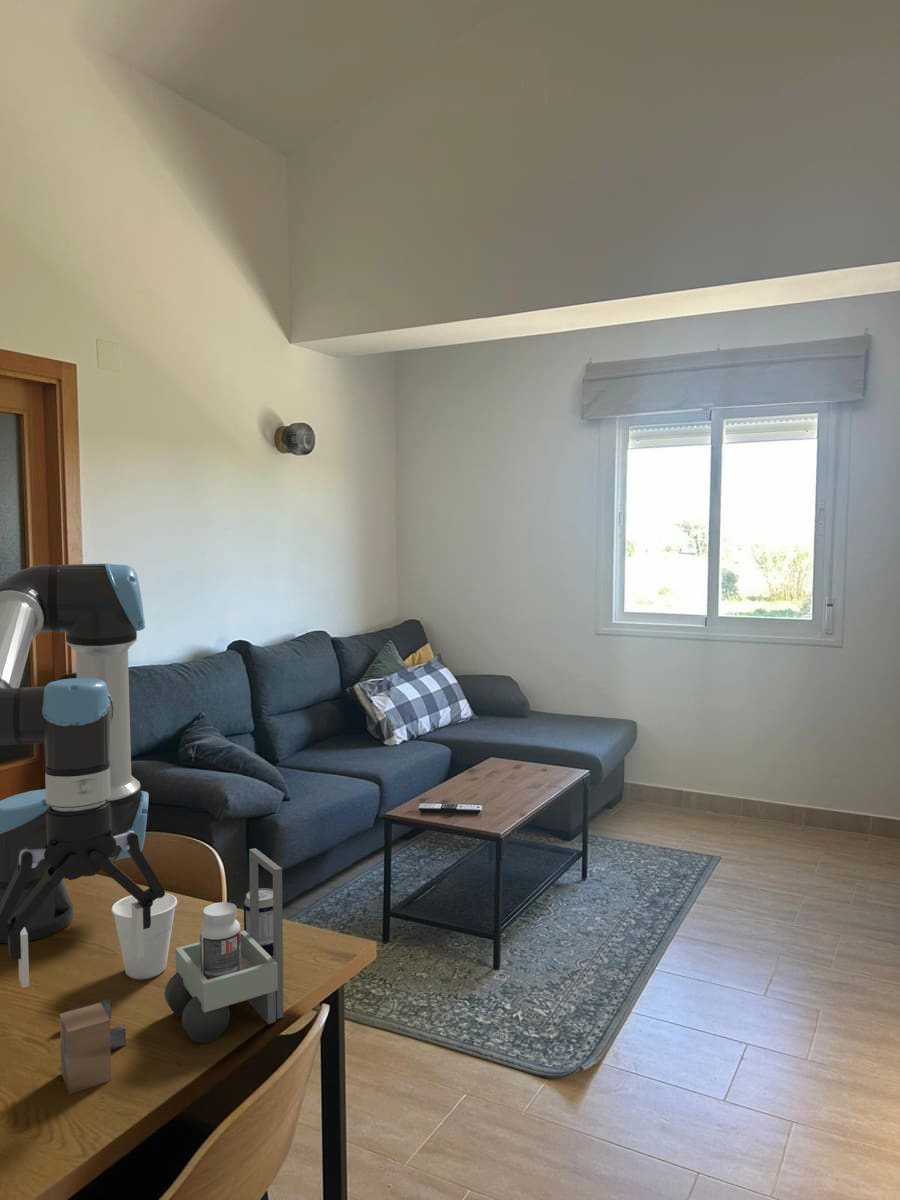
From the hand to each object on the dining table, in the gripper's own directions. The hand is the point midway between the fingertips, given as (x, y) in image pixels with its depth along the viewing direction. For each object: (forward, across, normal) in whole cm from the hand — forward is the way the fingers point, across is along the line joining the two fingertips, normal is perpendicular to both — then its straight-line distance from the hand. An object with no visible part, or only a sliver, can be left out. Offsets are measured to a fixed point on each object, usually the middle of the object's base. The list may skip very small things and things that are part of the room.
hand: (83, 967), depth 111 cm
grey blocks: (+14, +3, +9) cm, 17 cm away
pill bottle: (+9, +20, +5) cm, 22 cm away
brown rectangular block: (+15, 0, 0) cm, 15 cm away
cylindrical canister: (+14, +30, +15) cm, 37 cm away
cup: (+14, +14, +24) cm, 32 cm away
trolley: (+14, +20, +4) cm, 25 cm away
